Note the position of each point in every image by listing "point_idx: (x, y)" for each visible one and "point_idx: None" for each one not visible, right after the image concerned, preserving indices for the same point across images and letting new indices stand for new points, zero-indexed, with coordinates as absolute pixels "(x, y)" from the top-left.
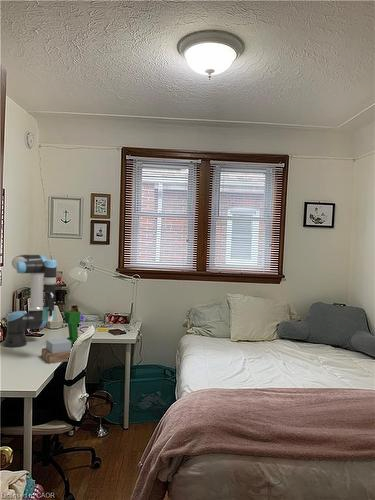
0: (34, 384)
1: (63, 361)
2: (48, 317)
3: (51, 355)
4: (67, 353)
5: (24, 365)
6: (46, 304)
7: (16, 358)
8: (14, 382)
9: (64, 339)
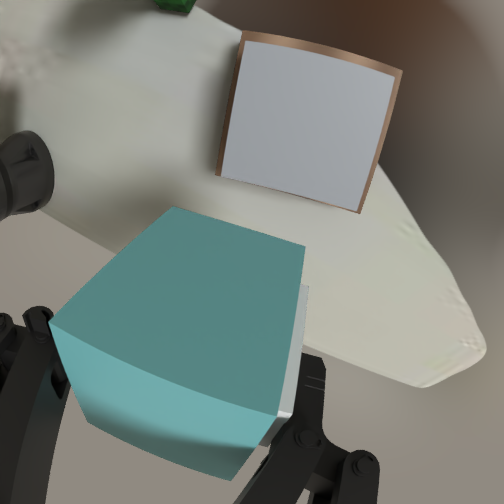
0: (466, 340)
1: None
2: None
3: (362, 203)
4: (390, 114)
5: None
6: (51, 437)
7: None
8: (410, 364)
9: (298, 70)
